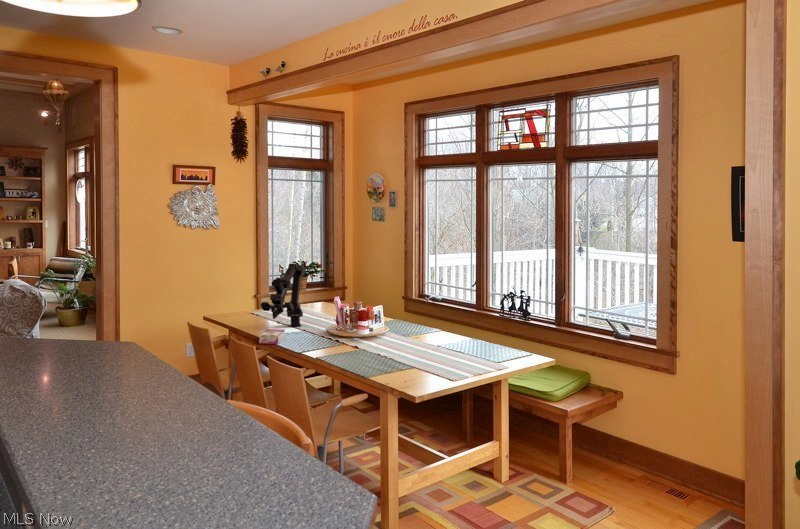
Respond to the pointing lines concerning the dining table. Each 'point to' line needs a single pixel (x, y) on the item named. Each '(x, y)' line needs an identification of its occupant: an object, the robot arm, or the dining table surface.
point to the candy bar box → (271, 336)
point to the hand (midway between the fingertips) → (273, 318)
